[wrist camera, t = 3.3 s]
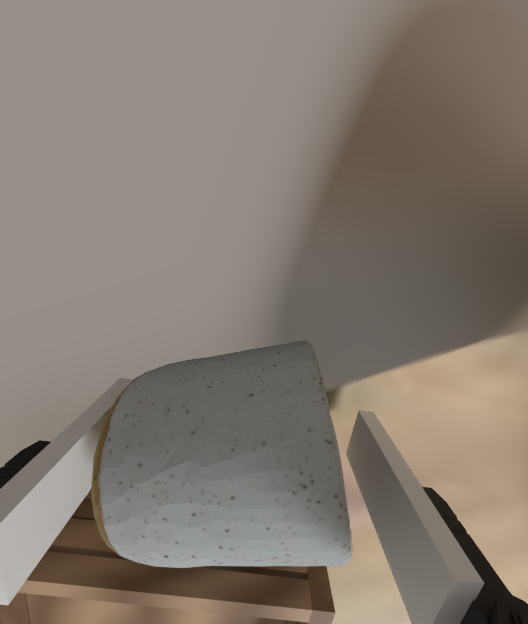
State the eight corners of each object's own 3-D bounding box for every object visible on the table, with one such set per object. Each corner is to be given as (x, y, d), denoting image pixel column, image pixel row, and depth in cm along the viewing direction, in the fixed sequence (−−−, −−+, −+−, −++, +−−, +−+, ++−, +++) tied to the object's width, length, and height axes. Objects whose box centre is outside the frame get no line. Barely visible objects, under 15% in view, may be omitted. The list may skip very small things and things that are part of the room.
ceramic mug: (150, 344, 13) (9, 475, 6) (302, 316, 13) (353, 420, 5) (202, 491, 16) (150, 702, 9) (327, 473, 16) (382, 678, 8)
